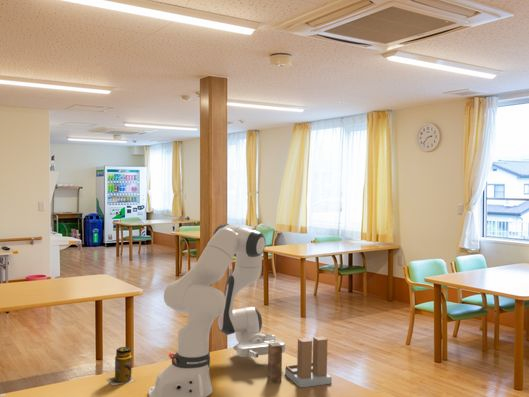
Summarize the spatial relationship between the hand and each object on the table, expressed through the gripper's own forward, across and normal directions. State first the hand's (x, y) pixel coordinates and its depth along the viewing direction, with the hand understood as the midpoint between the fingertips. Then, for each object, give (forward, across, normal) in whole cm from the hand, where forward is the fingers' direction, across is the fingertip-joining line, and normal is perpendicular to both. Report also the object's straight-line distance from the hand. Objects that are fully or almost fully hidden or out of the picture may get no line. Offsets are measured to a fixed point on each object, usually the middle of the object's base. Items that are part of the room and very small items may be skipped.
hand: (267, 354), depth 199 cm
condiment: (-12, -55, +8) cm, 57 cm away
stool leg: (+7, 0, +8) cm, 10 cm away
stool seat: (+9, +13, +8) cm, 18 cm away
